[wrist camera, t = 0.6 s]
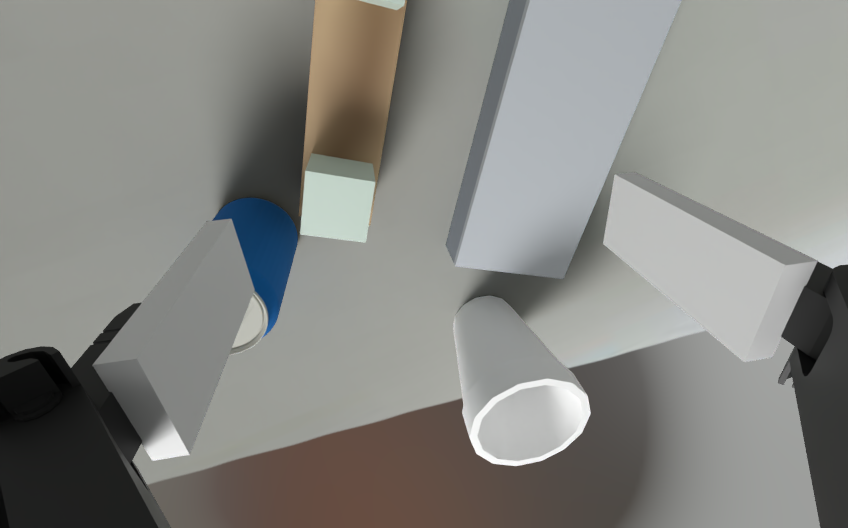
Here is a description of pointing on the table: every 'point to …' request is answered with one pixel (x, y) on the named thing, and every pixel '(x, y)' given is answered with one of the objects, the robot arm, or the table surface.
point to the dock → (552, 128)
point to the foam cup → (513, 387)
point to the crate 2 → (387, 3)
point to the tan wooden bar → (351, 81)
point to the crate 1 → (337, 198)
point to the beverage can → (262, 262)
